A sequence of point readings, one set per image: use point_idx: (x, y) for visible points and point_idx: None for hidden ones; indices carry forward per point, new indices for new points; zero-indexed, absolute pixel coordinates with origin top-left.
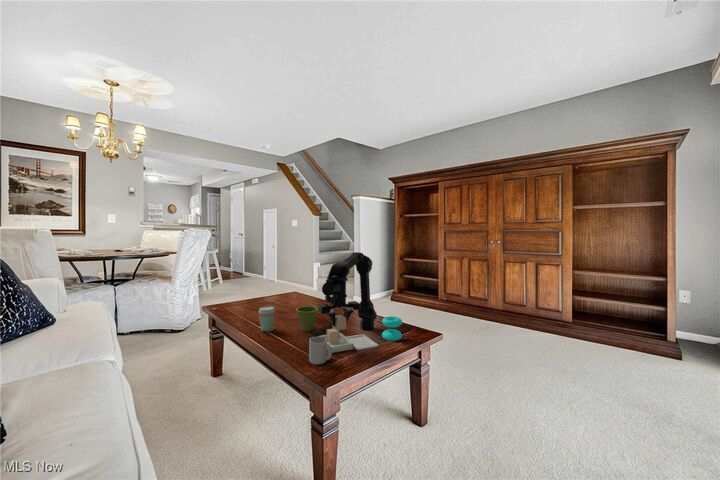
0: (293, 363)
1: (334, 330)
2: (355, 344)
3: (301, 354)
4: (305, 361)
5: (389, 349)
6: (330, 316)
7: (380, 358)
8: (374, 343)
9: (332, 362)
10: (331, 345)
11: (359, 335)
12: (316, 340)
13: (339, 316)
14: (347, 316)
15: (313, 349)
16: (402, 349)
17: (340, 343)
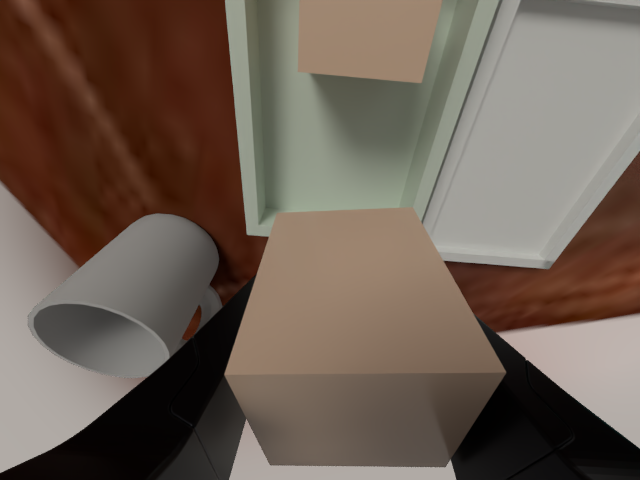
0: (46, 220)
1: (390, 13)
2: (469, 174)
3: (72, 128)
4: (111, 227)
5: (551, 294)
6: (148, 412)
7: None
8: (558, 239)
9: (240, 285)
10: (307, 105)
11: None
12: (104, 282)
13: (356, 432)
14: (466, 478)
15: (104, 325)
16: (591, 316)
17: (392, 101)
